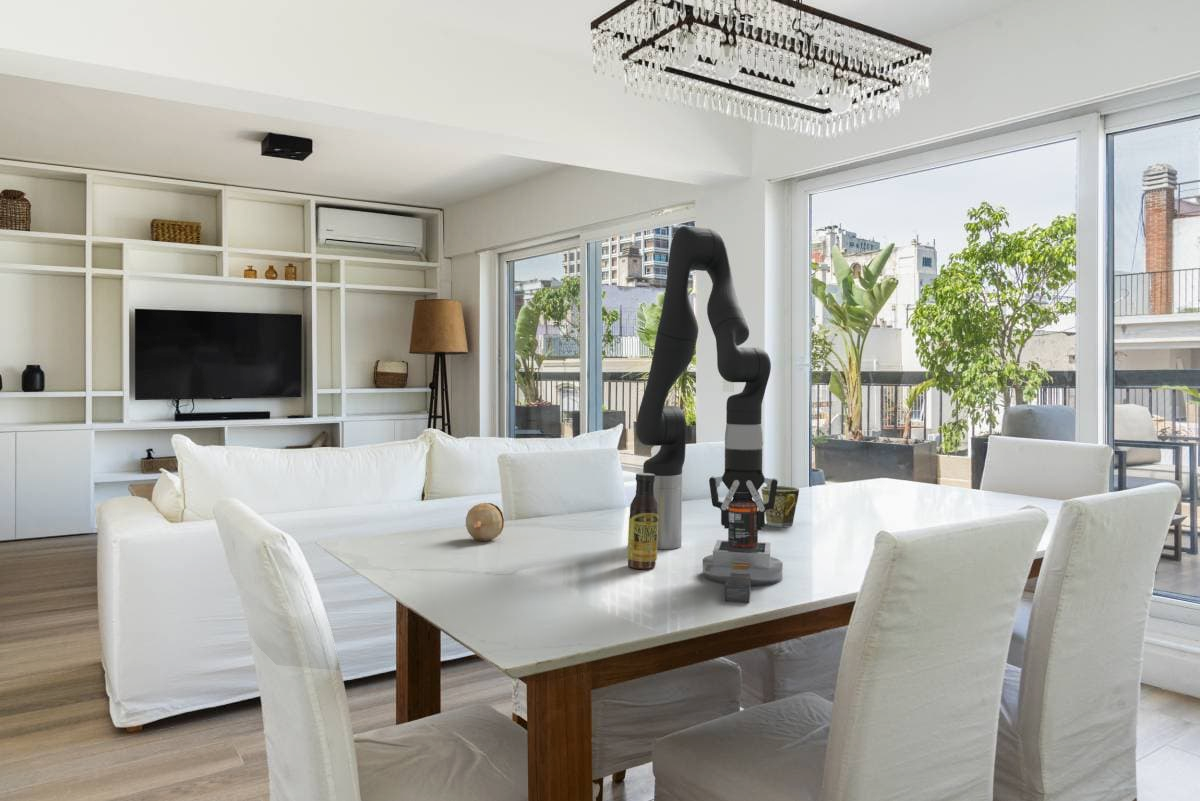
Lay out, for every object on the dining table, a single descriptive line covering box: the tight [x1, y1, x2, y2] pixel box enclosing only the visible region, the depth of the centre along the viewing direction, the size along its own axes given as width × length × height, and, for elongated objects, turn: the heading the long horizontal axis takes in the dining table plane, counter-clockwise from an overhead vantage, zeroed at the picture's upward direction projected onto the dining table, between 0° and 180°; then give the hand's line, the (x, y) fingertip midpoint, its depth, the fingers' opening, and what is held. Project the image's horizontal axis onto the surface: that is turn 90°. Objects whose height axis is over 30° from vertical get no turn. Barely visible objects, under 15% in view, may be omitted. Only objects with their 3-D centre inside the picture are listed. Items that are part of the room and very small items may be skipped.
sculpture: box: [465, 502, 505, 542], centre depth 202 cm, size 9×9×15 cm
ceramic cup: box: [760, 485, 800, 528], centre depth 224 cm, size 13×10×10 cm
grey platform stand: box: [702, 539, 784, 604], centre depth 163 cm, size 16×28×6 cm, turn 168°
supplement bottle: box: [727, 492, 759, 549], centre depth 169 cm, size 6×6×11 cm
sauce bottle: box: [627, 472, 658, 570], centre depth 176 cm, size 7×6×20 cm
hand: (742, 528), depth 169 cm, fingers closed on supplement bottle, 6 cm apart
